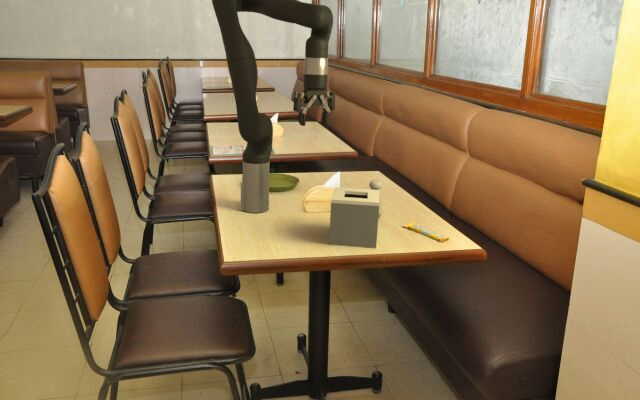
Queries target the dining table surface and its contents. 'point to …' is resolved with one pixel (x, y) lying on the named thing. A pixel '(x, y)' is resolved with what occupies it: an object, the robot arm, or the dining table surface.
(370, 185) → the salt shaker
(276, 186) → the saucer
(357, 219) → the tissue box
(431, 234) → the candy bar
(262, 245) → the dining table surface
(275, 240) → the dining table surface
